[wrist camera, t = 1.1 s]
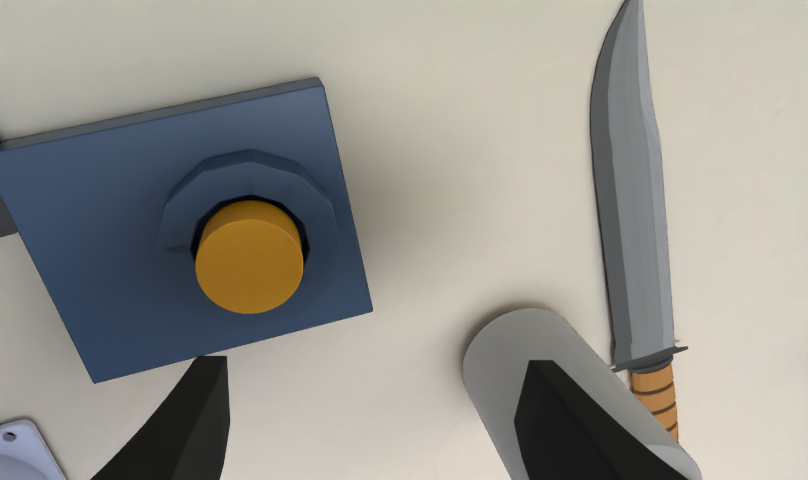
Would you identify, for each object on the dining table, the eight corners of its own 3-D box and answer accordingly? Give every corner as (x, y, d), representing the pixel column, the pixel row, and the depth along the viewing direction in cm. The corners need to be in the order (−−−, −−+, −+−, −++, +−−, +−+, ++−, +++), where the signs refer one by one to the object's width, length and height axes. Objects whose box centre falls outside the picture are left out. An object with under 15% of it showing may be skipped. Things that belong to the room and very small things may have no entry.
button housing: (106, 354, 26) (80, 413, 23) (5, 140, 22) (-46, 169, 18) (366, 289, 28) (381, 333, 24) (318, 76, 23) (328, 91, 20)
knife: (560, 5, 24) (674, -28, 24) (548, 5, 25) (657, -26, 25) (627, 513, 36) (702, 488, 36) (617, 497, 37) (690, 473, 38)
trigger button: (217, 297, 22) (213, 325, 20) (187, 212, 21) (180, 234, 19) (310, 275, 23) (313, 300, 21) (287, 189, 21) (289, 208, 19)
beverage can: (459, 412, 32) (558, 628, 21) (455, 311, 29) (565, 499, 18) (568, 389, 33) (714, 584, 22) (573, 290, 30) (742, 456, 19)
